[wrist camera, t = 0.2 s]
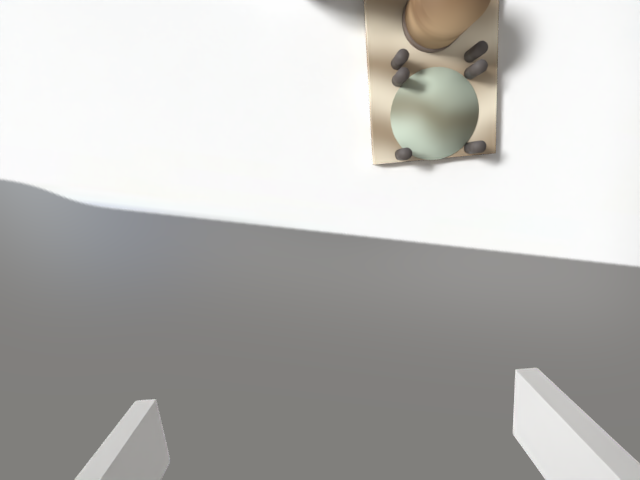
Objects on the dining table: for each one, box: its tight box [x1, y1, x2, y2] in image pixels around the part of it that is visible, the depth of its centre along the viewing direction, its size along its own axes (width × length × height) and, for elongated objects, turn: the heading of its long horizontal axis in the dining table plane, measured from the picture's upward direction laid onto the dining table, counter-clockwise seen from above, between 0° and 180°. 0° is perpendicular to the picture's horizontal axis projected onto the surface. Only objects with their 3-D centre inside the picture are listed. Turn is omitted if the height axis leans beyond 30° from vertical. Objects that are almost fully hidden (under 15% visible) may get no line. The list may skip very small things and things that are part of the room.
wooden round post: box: [402, 0, 491, 53], centre depth 30 cm, size 6×6×6 cm
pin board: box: [364, 0, 499, 165], centre depth 33 cm, size 18×13×4 cm
